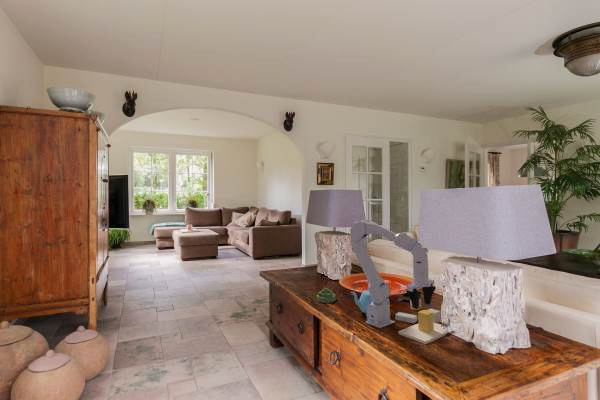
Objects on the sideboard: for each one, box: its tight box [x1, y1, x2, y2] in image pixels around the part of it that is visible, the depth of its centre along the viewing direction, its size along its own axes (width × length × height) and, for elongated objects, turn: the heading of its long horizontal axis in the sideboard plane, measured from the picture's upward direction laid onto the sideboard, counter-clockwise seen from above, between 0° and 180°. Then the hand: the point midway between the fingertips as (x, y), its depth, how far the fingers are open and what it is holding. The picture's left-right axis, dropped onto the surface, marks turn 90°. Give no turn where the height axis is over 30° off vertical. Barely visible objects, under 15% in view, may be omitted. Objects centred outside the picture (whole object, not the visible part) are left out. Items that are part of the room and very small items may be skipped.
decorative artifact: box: [315, 286, 337, 304], centre depth 178 cm, size 10×7×10 cm
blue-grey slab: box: [394, 311, 418, 324], centre depth 146 cm, size 8×4×2 cm, turn 52°
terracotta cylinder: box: [409, 298, 423, 312], centre depth 159 cm, size 5×5×4 cm
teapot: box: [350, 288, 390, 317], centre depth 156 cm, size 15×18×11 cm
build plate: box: [397, 293, 410, 303], centre depth 172 cm, size 12×7×5 cm, turn 68°
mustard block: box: [417, 309, 434, 333], centre depth 132 cm, size 4×4×7 cm
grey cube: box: [426, 308, 442, 324], centre depth 143 cm, size 4×4×4 cm
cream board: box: [397, 323, 448, 345], centre depth 132 cm, size 18×12×1 cm, turn 125°
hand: (421, 305), depth 135 cm, fingers open, 7 cm apart
